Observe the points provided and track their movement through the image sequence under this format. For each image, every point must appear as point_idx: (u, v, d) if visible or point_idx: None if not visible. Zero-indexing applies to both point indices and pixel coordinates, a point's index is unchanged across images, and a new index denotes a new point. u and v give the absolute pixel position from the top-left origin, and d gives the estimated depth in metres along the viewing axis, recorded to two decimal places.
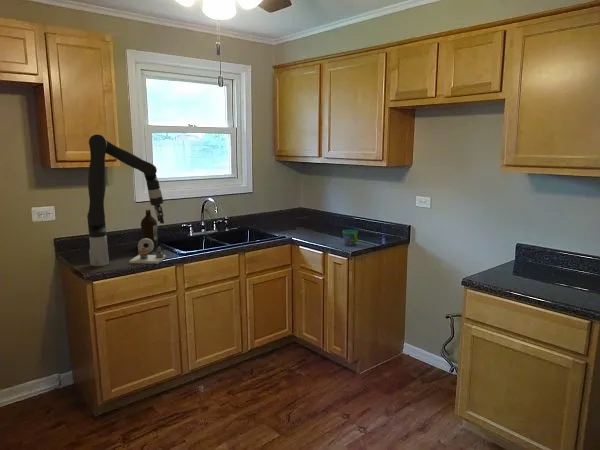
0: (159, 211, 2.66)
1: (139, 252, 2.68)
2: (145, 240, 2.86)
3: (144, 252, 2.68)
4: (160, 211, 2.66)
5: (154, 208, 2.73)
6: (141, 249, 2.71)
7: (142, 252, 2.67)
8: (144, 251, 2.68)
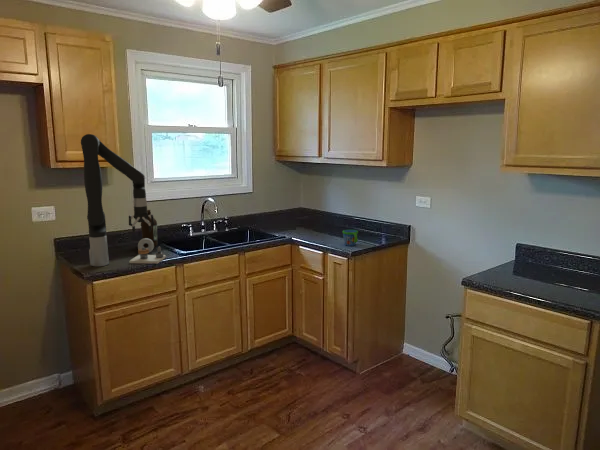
0: (153, 218, 2.68)
1: (139, 252, 2.68)
2: (145, 240, 2.86)
3: (144, 252, 2.68)
4: None
5: (138, 218, 2.64)
6: (141, 249, 2.71)
7: (142, 252, 2.67)
8: (144, 251, 2.68)
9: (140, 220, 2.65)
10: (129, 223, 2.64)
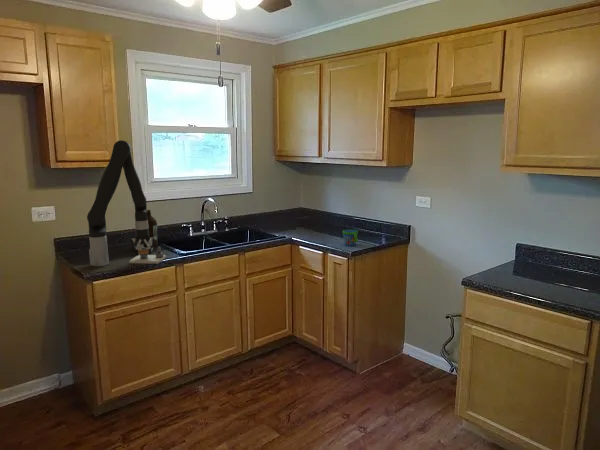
0: None
1: (139, 252, 2.68)
2: None
3: (144, 252, 2.68)
4: None
5: (140, 240, 2.67)
6: (141, 249, 2.71)
7: (142, 252, 2.67)
8: (144, 251, 2.68)
9: (142, 242, 2.68)
10: (133, 246, 2.67)
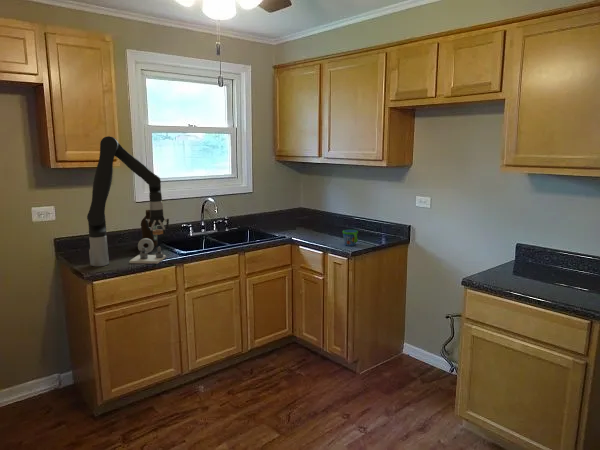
0: (168, 222, 2.71)
1: (154, 233, 2.68)
2: (145, 240, 2.86)
3: (159, 233, 2.68)
4: (168, 222, 2.71)
5: (154, 221, 2.67)
6: (155, 230, 2.71)
7: (157, 233, 2.68)
8: (159, 232, 2.68)
9: (156, 223, 2.68)
10: (147, 227, 2.67)
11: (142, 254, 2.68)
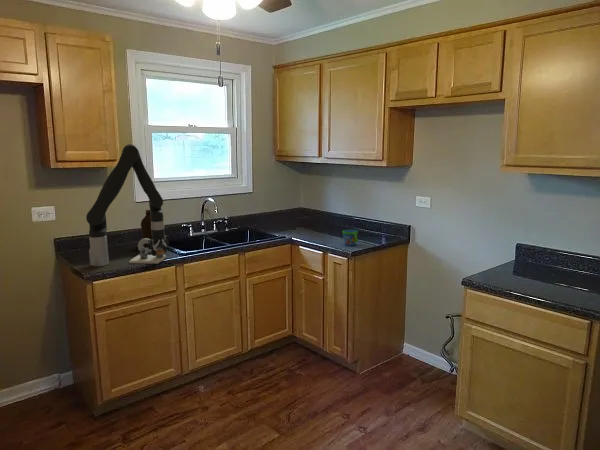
0: None
1: (158, 253, 2.70)
2: (145, 240, 2.86)
3: (163, 252, 2.72)
4: None
5: (159, 240, 2.69)
6: (156, 250, 2.72)
7: (162, 252, 2.71)
8: (163, 251, 2.72)
9: (159, 243, 2.71)
10: (151, 247, 2.66)
11: (142, 254, 2.68)
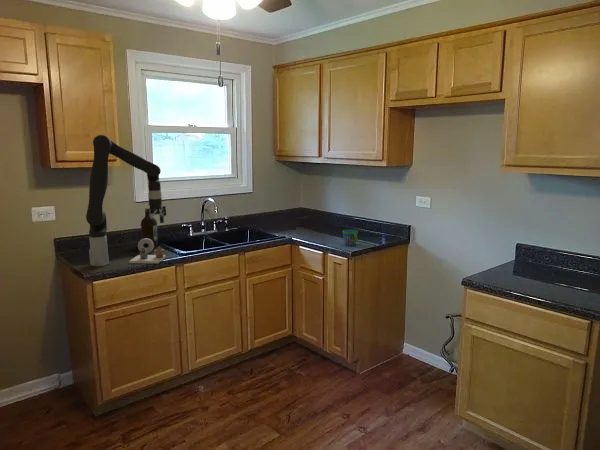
0: None
1: (158, 253, 2.70)
2: (145, 240, 2.86)
3: (163, 252, 2.72)
4: None
5: (156, 210, 2.69)
6: (156, 250, 2.72)
7: (162, 252, 2.71)
8: (163, 251, 2.72)
9: (156, 212, 2.70)
10: (148, 216, 2.65)
11: (142, 254, 2.68)
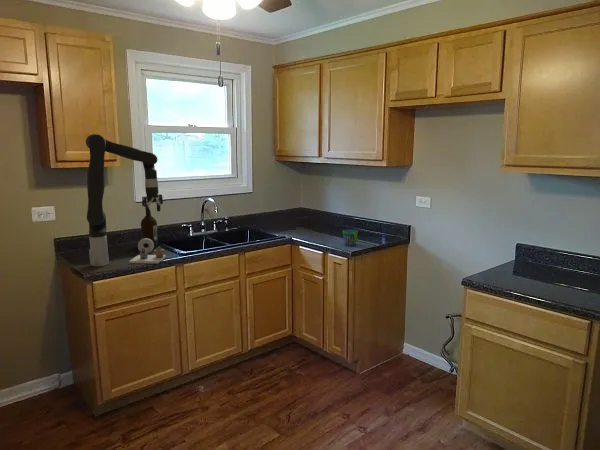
0: None
1: (158, 253, 2.70)
2: (145, 240, 2.86)
3: (163, 252, 2.72)
4: None
5: (152, 198, 2.72)
6: (156, 250, 2.72)
7: (162, 252, 2.71)
8: (163, 251, 2.72)
9: (153, 200, 2.74)
10: (145, 204, 2.69)
11: (142, 254, 2.68)
